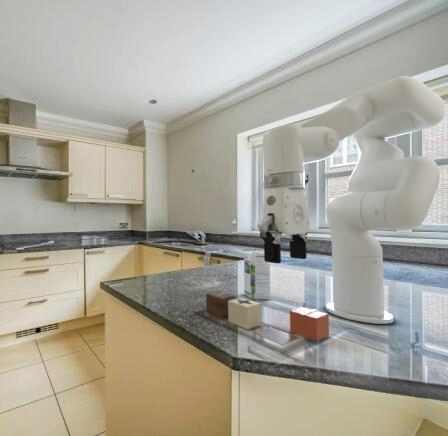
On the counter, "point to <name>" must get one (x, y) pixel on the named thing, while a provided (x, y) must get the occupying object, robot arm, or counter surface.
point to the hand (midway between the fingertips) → (285, 260)
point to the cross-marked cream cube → (244, 313)
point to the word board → (268, 333)
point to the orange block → (309, 323)
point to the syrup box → (256, 275)
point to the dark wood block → (218, 303)
